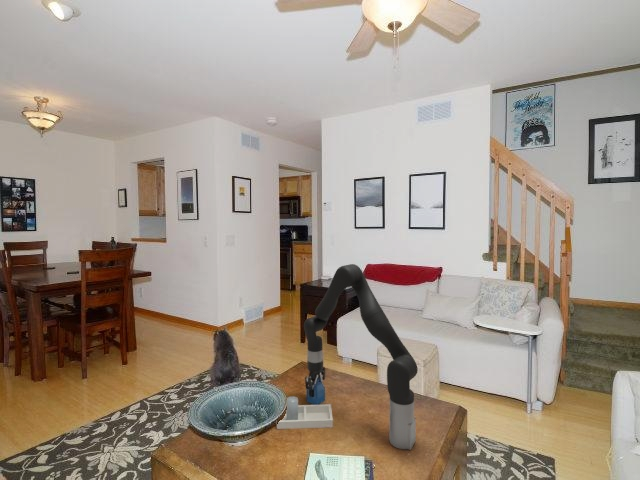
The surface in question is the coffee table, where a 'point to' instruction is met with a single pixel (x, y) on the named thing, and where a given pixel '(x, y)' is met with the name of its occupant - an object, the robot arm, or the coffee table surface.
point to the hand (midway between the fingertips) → (315, 393)
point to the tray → (309, 417)
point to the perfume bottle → (317, 393)
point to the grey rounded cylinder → (292, 408)
